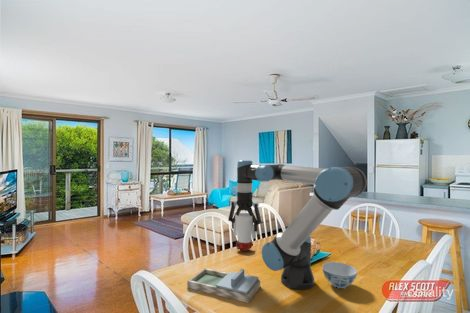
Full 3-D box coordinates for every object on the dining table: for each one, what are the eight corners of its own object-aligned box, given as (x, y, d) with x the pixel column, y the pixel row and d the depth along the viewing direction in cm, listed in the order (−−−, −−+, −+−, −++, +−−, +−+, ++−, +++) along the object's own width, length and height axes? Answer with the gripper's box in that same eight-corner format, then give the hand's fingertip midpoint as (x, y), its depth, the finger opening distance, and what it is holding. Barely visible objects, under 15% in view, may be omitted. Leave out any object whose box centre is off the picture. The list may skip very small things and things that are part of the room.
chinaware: (328, 275, 136) (329, 259, 135) (361, 284, 126) (361, 267, 126) (316, 286, 124) (317, 269, 124) (351, 297, 114) (351, 279, 114)
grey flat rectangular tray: (260, 286, 123) (260, 279, 123) (248, 302, 109) (248, 295, 109) (204, 274, 135) (204, 268, 135) (187, 287, 121) (187, 280, 121)
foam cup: (232, 239, 138) (232, 213, 138) (249, 237, 141) (249, 212, 141) (239, 244, 129) (239, 217, 129) (257, 242, 132) (257, 215, 132)
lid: (258, 278, 123) (258, 270, 123) (246, 294, 110) (246, 284, 110) (230, 273, 129) (230, 265, 129) (215, 286, 115) (215, 277, 115)
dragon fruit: (233, 253, 167) (251, 254, 171) (238, 249, 161) (257, 250, 165) (232, 240, 172) (249, 241, 176) (237, 235, 166) (255, 236, 170)
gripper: (268, 191, 134) (268, 237, 134) (227, 189, 143) (227, 232, 143) (263, 193, 127) (263, 241, 127) (221, 191, 136) (221, 235, 136)
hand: (244, 236), depth 135 cm, fingers closed on foam cup, 9 cm apart
